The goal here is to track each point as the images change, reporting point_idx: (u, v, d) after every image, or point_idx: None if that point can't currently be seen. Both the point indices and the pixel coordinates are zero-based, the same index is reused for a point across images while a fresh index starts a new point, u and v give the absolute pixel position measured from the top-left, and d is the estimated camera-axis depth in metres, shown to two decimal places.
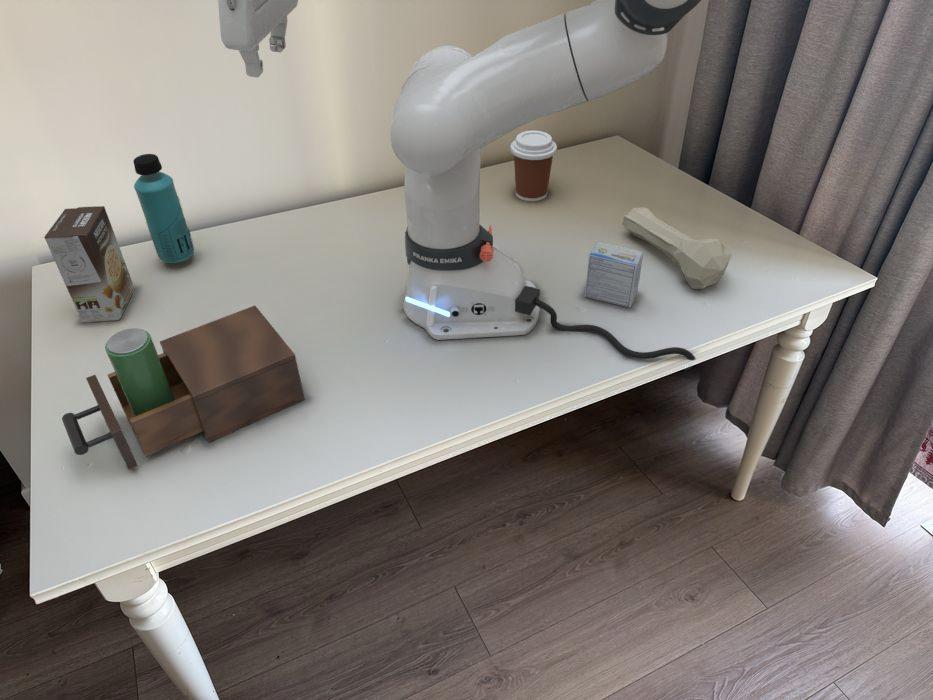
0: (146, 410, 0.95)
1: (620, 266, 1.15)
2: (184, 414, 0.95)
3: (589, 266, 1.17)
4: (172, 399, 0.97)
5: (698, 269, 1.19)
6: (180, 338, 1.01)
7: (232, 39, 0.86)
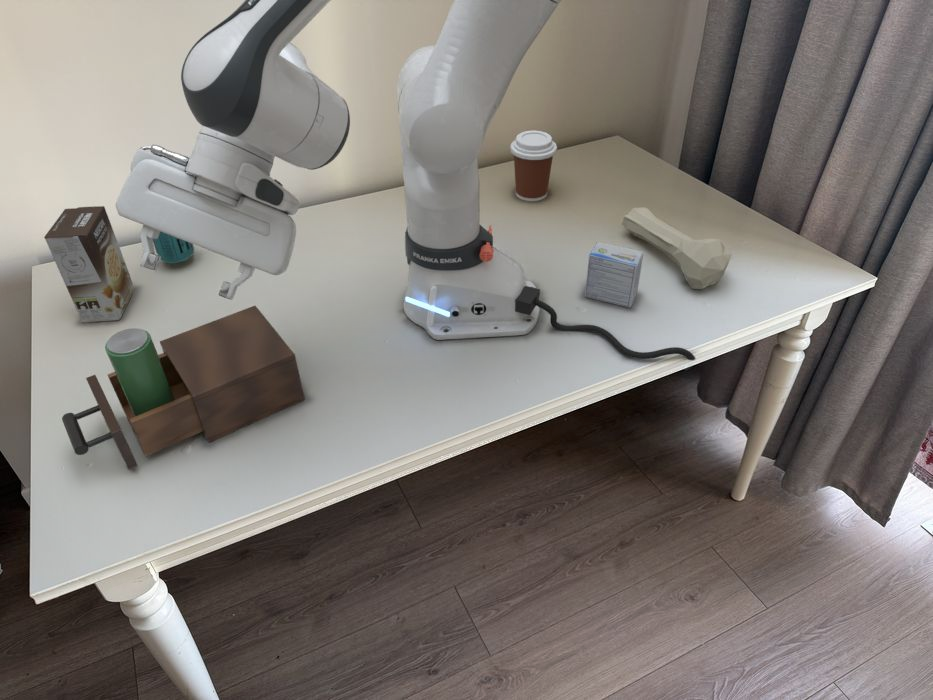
0: (146, 410, 0.95)
1: (620, 266, 1.15)
2: (184, 414, 0.95)
3: (589, 266, 1.17)
4: (172, 399, 0.97)
5: (698, 269, 1.19)
6: (180, 338, 1.01)
7: None
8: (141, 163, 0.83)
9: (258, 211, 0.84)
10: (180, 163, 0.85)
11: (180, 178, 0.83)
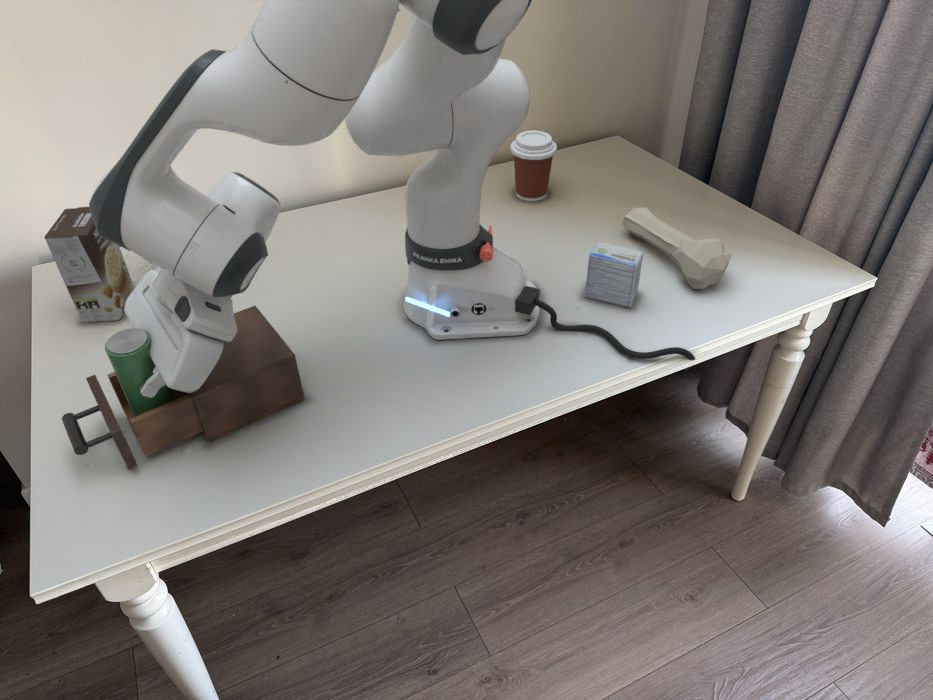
0: (146, 410, 0.95)
1: (620, 266, 1.15)
2: (184, 414, 0.95)
3: (589, 266, 1.17)
4: (172, 399, 0.97)
5: (698, 269, 1.19)
6: None
7: None
8: (147, 272, 0.97)
9: (176, 325, 0.87)
10: None
11: None
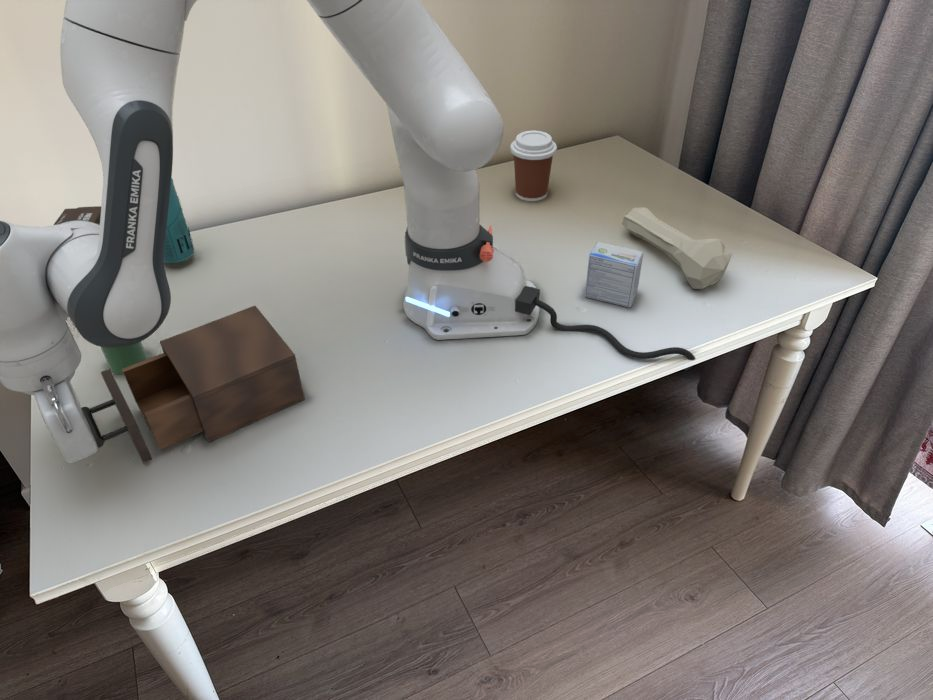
0: (117, 355, 1.06)
1: (620, 266, 1.15)
2: None
3: (589, 266, 1.17)
4: (141, 347, 1.09)
5: (699, 269, 1.19)
6: (180, 338, 1.01)
7: (78, 454, 0.83)
8: (78, 409, 0.82)
9: None
10: None
11: (69, 386, 0.85)
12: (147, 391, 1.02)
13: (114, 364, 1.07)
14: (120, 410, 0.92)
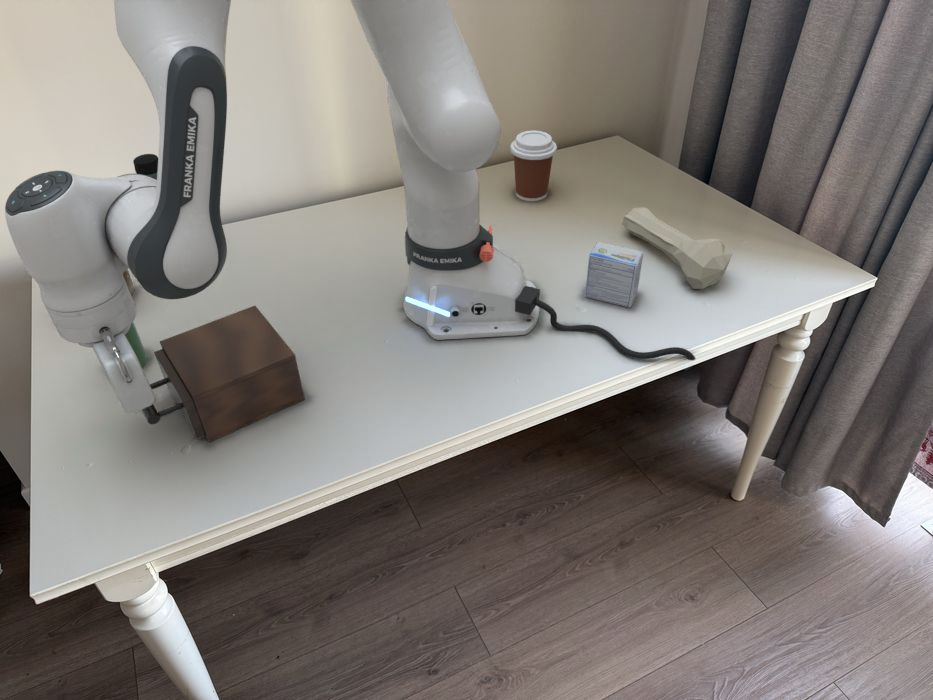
0: None
1: (620, 266, 1.15)
2: None
3: (589, 266, 1.17)
4: (141, 347, 1.09)
5: (699, 269, 1.19)
6: (180, 338, 1.01)
7: (137, 405, 0.84)
8: (137, 360, 0.82)
9: None
10: None
11: (126, 338, 0.85)
12: None
13: None
14: (176, 387, 0.95)
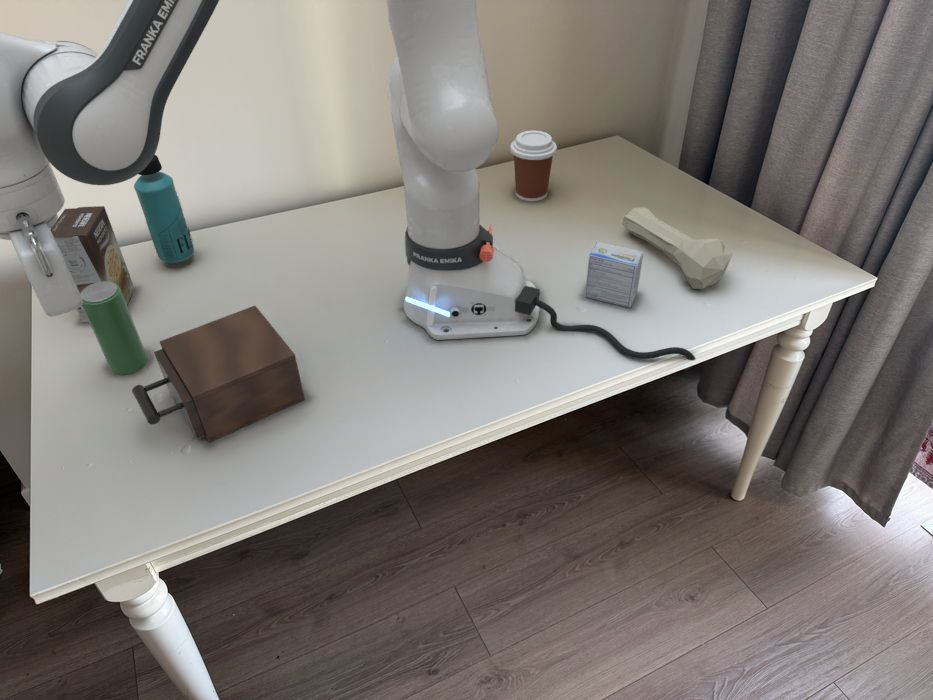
0: (117, 355, 1.06)
1: (620, 266, 1.15)
2: None
3: (589, 266, 1.17)
4: (141, 347, 1.09)
5: (699, 269, 1.19)
6: (180, 338, 1.01)
7: (60, 305, 0.73)
8: (59, 251, 0.71)
9: None
10: None
11: (50, 230, 0.74)
12: None
13: (114, 364, 1.07)
14: (176, 387, 0.95)
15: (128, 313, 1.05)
